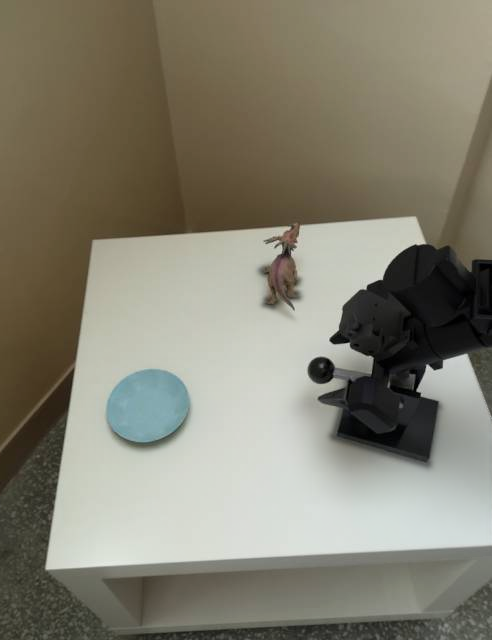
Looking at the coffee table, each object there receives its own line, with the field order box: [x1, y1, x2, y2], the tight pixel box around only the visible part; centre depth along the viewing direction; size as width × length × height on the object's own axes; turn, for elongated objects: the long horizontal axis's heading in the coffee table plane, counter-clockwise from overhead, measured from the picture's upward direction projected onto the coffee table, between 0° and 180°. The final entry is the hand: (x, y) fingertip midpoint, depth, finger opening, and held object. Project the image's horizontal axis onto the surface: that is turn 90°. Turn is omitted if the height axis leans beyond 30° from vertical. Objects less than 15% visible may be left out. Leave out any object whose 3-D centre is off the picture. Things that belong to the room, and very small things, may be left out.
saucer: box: [105, 368, 190, 443], centre depth 75 cm, size 12×12×2 cm
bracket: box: [335, 365, 440, 463], centre depth 68 cm, size 12×9×11 cm
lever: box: [306, 356, 416, 390], centre depth 67 cm, size 13×4×4 cm, turn 70°
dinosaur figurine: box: [262, 222, 301, 312], centre depth 84 cm, size 14×6×9 cm, turn 176°
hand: (325, 369), depth 68 cm, fingers open, 9 cm apart
